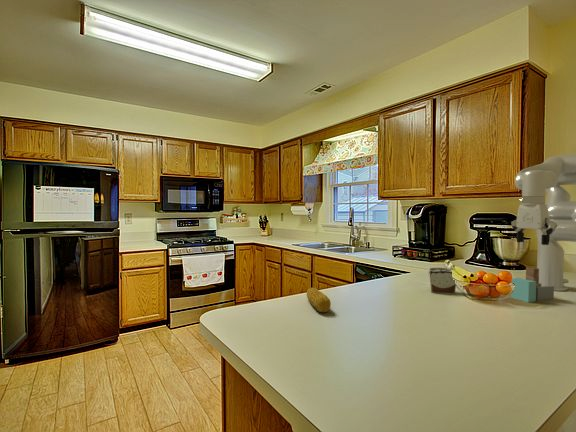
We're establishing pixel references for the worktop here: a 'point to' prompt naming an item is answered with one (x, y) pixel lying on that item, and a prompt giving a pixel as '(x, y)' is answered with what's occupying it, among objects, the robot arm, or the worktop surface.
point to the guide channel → (544, 292)
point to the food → (318, 300)
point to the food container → (442, 281)
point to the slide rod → (533, 275)
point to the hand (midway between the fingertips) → (532, 243)
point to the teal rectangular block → (524, 290)
